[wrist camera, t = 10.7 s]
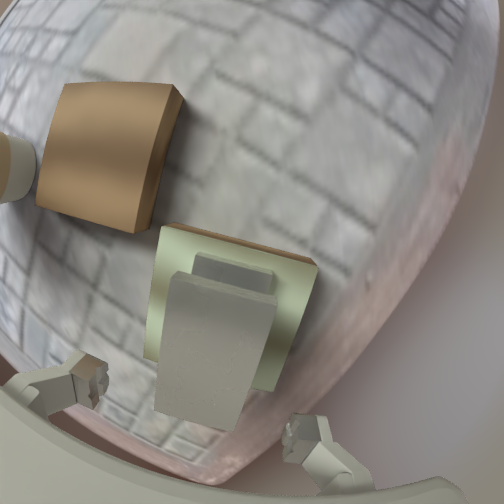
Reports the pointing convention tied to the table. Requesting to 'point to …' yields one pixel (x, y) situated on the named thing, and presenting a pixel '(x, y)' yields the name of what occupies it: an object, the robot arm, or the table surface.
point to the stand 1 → (108, 152)
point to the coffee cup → (15, 167)
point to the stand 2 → (280, 262)
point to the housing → (213, 340)
